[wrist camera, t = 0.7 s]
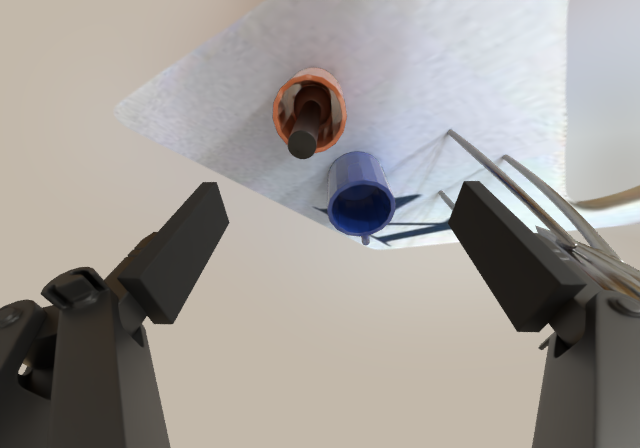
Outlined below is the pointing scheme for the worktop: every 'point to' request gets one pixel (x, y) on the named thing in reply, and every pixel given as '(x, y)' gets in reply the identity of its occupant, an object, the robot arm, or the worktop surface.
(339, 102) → the crock
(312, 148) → the long black cylinder
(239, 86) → the worktop surface
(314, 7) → the worktop surface
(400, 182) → the worktop surface
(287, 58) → the worktop surface
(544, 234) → the juicer
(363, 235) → the mug
